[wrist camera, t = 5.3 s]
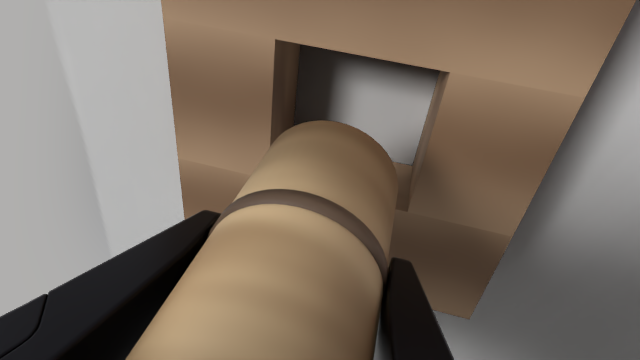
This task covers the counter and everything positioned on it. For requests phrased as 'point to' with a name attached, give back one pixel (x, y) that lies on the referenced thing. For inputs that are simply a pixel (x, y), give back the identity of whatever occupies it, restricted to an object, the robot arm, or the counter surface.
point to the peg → (289, 258)
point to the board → (441, 122)
